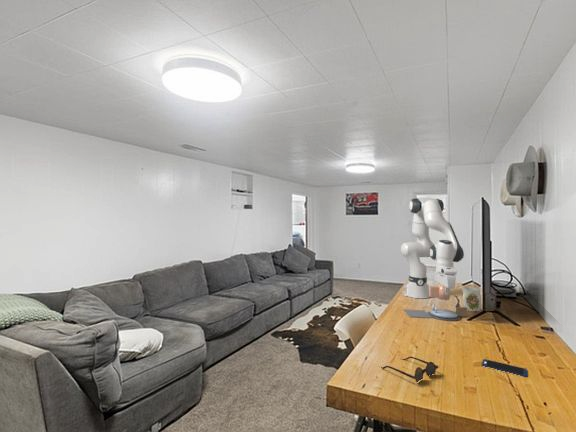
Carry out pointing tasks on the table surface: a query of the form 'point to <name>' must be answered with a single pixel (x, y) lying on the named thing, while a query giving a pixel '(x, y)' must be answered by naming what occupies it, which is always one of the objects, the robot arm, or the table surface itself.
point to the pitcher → (471, 298)
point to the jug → (438, 292)
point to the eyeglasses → (418, 369)
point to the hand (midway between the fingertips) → (443, 292)
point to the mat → (417, 313)
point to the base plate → (444, 318)
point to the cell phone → (505, 367)
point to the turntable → (448, 312)
